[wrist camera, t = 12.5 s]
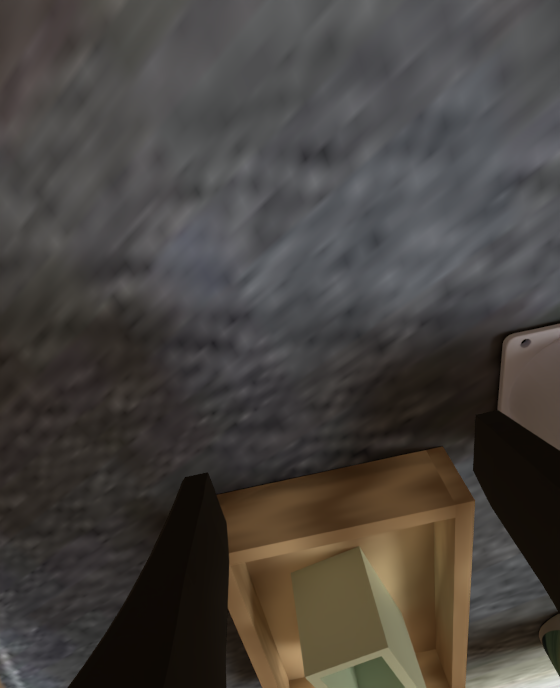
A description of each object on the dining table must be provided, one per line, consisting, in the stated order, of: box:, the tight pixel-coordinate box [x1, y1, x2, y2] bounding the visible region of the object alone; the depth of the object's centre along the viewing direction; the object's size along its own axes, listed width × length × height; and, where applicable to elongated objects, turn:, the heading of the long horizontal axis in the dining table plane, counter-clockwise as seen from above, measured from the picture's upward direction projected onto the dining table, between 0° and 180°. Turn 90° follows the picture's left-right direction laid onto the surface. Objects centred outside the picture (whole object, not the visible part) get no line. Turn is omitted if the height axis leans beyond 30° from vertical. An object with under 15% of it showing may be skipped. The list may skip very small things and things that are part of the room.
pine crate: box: [217, 446, 475, 688], centre depth 31 cm, size 14×22×4 cm, turn 10°
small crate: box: [291, 546, 426, 688], centre depth 29 cm, size 5×9×6 cm, turn 25°
